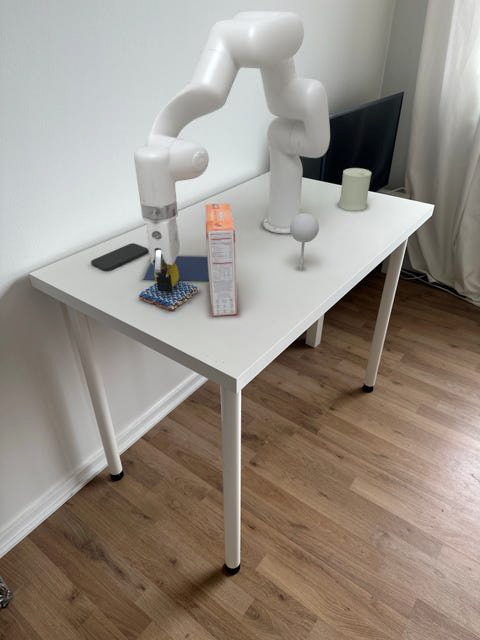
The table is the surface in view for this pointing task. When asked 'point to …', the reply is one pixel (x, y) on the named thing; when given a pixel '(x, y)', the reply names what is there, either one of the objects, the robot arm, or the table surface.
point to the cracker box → (221, 259)
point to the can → (355, 189)
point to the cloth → (186, 269)
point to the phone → (119, 256)
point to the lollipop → (304, 230)
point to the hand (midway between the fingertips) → (167, 283)
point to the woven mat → (169, 295)
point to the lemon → (171, 273)
